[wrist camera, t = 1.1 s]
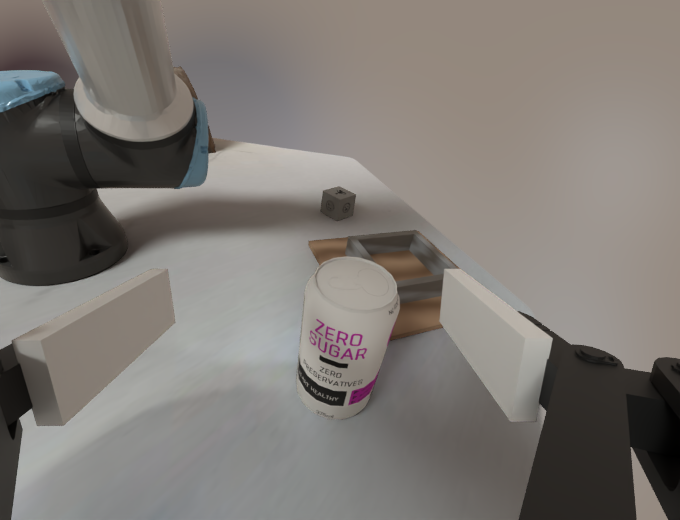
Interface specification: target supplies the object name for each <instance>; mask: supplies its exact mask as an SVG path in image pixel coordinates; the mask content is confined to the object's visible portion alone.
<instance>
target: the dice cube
mask: <svg viewBox="0 0 680 520" xmlns="http://www.w3.org/2000/svg"><path fill="white" fill-rule="evenodd" d="M355 197H356V194H354V193H352V192H350V191H348V190H345V189H343V188H341V187H335V188H331V189H328V190H324V191H323V195H322V204H321V212H322V213H323V214H325V215H327V216H329V217H330V218H332V219H334V220H336V221H339V220H342V219H344V218H347V217H349V216H352V215H353V209H354V203H355Z"/></svg>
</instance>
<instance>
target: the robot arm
mask: <svg viewBox="0 0 680 520" xmlns="http://www.w3.org/2000/svg"><path fill="white" fill-rule="evenodd" d="M42 2H43V4H44V6H45V8H46V10H47V12H48V14H49V16H50V18H51V20H52V22H53V24H54V26H55V28H56V30H57V32H58V34H59V36H60V38H61V40H62V42H63V44H64V46H65V48H66V50H67V52H68V54H69V56H70V58H71V60H72V63H73V65H74V67H75V69H76V71H77V73H78V75H79V78H78V80H77V82H76V85H75V87H74V89H67V88H65V82H64V81H63V80H62V79H61V77H60V76H59V75H58V74H56V73H54V72H45V71H34V70H32V71H31V70H21V71H19V70H18V71H0V277H1V278H3V279H5V280H7V281H9V282H12V283H16V284H22V285H51V284H59V283H65V282H70V281H74V280H78V279H81V278H85V277H87V276H90V275H93V274H95V273H98V272H100V271H102V270H104V269H106V268H108V267H110V266H111V265H113V264H114V263H116V262H117V261H118V260H119V259H120V258H121V257H122V256H123V255H124V254H125V252H126V250H127V247H128V243H127V239H126V236H125V232H124V230H123V228H122V226H121V225H120V224H119V223H118V221H117V220H116V219H115V217H114V216H113V215H112V214H111V212H110V211H109V210H108V209H107V207H106V206H105V205H104V203H103V202H102V201H101V200H100V198H99V195H98V192H97V189H96V188H174V189H180V188H182V187H196V186H200V185H201V184H203V183H204V181H205V180H206V177H207V171H208V141H209V137H208V120H207V111H206V107H205V105H204V103H203V102H202V101H200V100H197V99H195V98H193V97H192V96H191V93H190V91H189V88H188V87H187V86H186V84H185V83H184V82H183V81H182V80H181V79H180V78H179V77H178V76H177V75H176V74H174V70H173V65H172V59H171V53H170V48H169V43H168V37H167V32H166V26H165V21H164V15H163V10H162V5H161V0H42ZM439 322H440V323H441V324H442V326H443V327H444V329H445V330H446V332H447V333H448V334H449V336H450V337H451V339H452V340H453V341H454V343H455V344H456V346H457V347H458V348H459V350H460V351H461V353H462V354H463V355H464V357H465V358H466V360H467V361H468V363H469V364H470V365H471V367H472V368H473V370H474V371H475V372H476V374H477V375H478V377H479V378H480V379H481V381H482V382H483V384H484V385H485V386H486V388H487V389H488V391H489V392H490V394H491V395H492V396H493V398H494V399H495V401H496V402H497V403H498V405H499V406H500V408H501V409H502V410H503V412H504V413H505V415H506V416H507V417H508V419H509V420H510V422H536V420H537V415H538V410H539V405H540V404H541V406H542V407H543V408H544V409H545V410H546V411H547V412H546V416H545V420H544V424H543V428H542V431H541V435H540V439H539V443H538V447H537V451H536V455H535V458H534V462H533V466H532V470H531V474H530V478H529V482H528V486H527V489H526V493H525V497H524V501H523V505H522V509H521V513H520V516H519V520H636V508H635V496H634V484H633V472H632V460H631V449H630V447H632V448H633V450H634V452H635V454H636V456H637V458H638V460H639V462H640V464H641V466H642V468H643V470H644V472H645V474H646V476H647V478H648V480H649V482H650V484H651V486H652V488H653V490H654V492H655V494H656V496H657V498H658V500H659V502H660V504H661V506H662V508H663V510H664V512H665V514H666V516H667V518H668V520H680V359H676V358H668V357H665V358H658V359H657V360H655V362H654V365H653V368H652V372H651V373H650V372H643V371H636V370H631V369H625V368H624V366H623V364H622V362H621V361H620V360H619V359H617V358H616V357H615V356H613V355H611V354H609V353H607V352H605V351H602V350H599V349H596V348H593V347H589V346H584V345H570V344H569V343H568V342H566V341H565V340H564V339H562V338H560V337H559V336H558V335H556V334H555V333H554V332H552V331H550V329H548V328H547V327H545V326H544V325H542V324H541V323H540V322H538V321H537V320H536V319H534V318H533V317H531V316H529V315H527V314H524V313H522V312H520V311H516V310H514V309H513V308H512V307H510V306H509V305H508V304H506V303H505V302H504V301H502V300H501V299H500V298H498V297H497V296H496V295H494V294H493V293H492V292H490V291H489V290H488V289H486V288H485V287H484V286H483V285H481V284H480V283H479V282H477V281H476V280H475V279H473V278H472V277H471V276H469V275H468V274H467V273H465V272H464V271H463V270H461V269H444V277H443V288H442V299H441V309H440V320H439ZM174 323H175V316H174V309H173V302H172V295H171V288H170V281H169V275H168V269H150V270H148V271H146V272H145V273H143V274H141V275H139V276H137V277H135V278H133V279H131V280H129V281H127V282H125V283H123V284H121V285H119V286H117V287H115V288H113V289H111V290H109V291H107V292H105V293H104V294H102V295H100V296H98V297H96V298H94V299H92V300H90V301H88V302H86V303H84V304H82V305H80V306H78V307H76V308H74V309H72V310H70V311H68V312H66V313H64V314H63V315H61V316H59V317H57V318H55V319H53V320H51V321H49V322H47V323H45V324H43V325H41V326H39V327H37V328H35V329H33V330H31V331H29V332H27V333H25V334H23V335H22V336H20V337H18V338H16V339H14V340H12V344H10V345H8V346H7V347H5V348H3V349H1V350H0V520H11V515H12V507H13V500H14V492H15V484H16V476H17V469H18V461H19V453H20V445H21V438H22V430H23V429H22V426H21V423H20V420H19V418H20V417H21V416H22V415H23V414H25V413H26V412H27V411H29V410H30V409H31V408H32V411H33V414H34V417H35V421H36V424H37V426H64V425H65V424H66V423H67V422H68V421H69V420H70V419H71V418H72V417H74V416H75V415H76V414H77V413H78V412H79V411H80V410H81V409H82V408H83V407H84V406H85V405H87V404H88V403H89V402H90V401H91V400H92V399H93V398H94V397H95V396H96V395H97V394H98V393H100V392H101V391H102V390H103V389H104V388H105V387H106V386H107V385H108V384H109V383H110V382H111V381H113V380H114V379H115V378H116V377H117V376H118V375H119V374H120V373H121V372H122V371H123V370H124V369H126V368H127V367H128V366H129V365H130V364H131V363H132V362H133V361H134V360H135V359H136V358H137V357H138V356H140V355H141V354H142V353H143V352H144V351H145V350H146V349H147V348H148V347H149V346H150V345H151V344H153V343H154V342H155V341H156V340H157V339H158V338H159V337H160V336H161V335H162V334H163V333H164V332H166V331H167V330H168V329H169V328H170V327H171V326H172V325H173V324H174Z"/></svg>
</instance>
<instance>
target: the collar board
mask: <svg viewBox="0 0 680 520" xmlns="http://www.w3.org/2000/svg"><path fill="white" fill-rule="evenodd" d="M309 247H310V249H311V250H312V252H313V254H314V256H315V258H316V259H317V261H318V263H319V265H321V264H322V263H323V262H325V261H327V260H330V259H332V258H337V257H345V256H348V257H358V258H363V259H366V260H369V261H373V262H374V263H376V264H378V265H380V266H382V267H384V268H385V269H386V270H387V271H388V272H389V273H390V274H391V275H392V276H393V278H394V280H395V282H396V284H397V292H398V295H399V298H400V310H399V313H398V316H397V319H396V322H395V325H394V328H393V331H392V334H391V337H390V340H394V339H398V338H402V337H407V336H411V335H415V334H419V333H423V332H427V331H431V330H435V329H439V328H443V326H442V324H441V323H440V322H439V320H440V309H441V299H442V288H443V277H444V269H460V268H459V267H457V266H456V265H455V264H454V263H453V262H452V261H451V260H450V259H449V258H447V257H446V256H445V255H444V254H443V253H442V252H441V251H440V250H439V249H437V248H436V247H435V246H434V245H433V244H432V243H431V242H430V241H429V240H428V239H426V238H425V237H424V236H423V235H422V234H421V233H420V232H419V231H416V230H413V231H402V232H391V233H381V234H370V235H359V236H348V237H346V238H336V239H325V240H314V241H309ZM390 340H389V341H390Z"/></svg>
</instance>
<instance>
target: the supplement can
mask: <svg viewBox="0 0 680 520" xmlns="http://www.w3.org/2000/svg"><path fill="white" fill-rule="evenodd" d="M399 310H400V298H399V295H398V292H397V284H396V282H395V280H394V278H393V276H392V275H391V274H390V273H389V272H388V271H387V270H386V269H385V268H384V267H382V266H380V265H378V264H376V263H374V262H373V261H369V260H366V259H363V258H358V257H348V256H345V257H337V258H332V259H330V260H327V261H325V262H323V263H322V264H321V265H320V266H319V267H318V268H317V269H316V272H315V273H314V275H313V276H312V277H311V278H310V279H309V280H308V283H307V286H306V288H305V293H304V304H303V314H302V325H301V335H300V345H299V356H298V366H297V377H296V384H297V393H298V394H299V396H300V398H301V400H302V402H303V404H304V405H305V406H306V407H307V408H309V409H310V410H311V411H312V412H313V413H314V414H317V415H319V416H322V417H324V418H327V419H341V420H342V419H345V418H348V417H351V416H355V415H356V414H357V413H359V412H360V411H361V410H362V409H363V408H365V406H366V404H367V402H368V400H369V398H370V396H371V394H372V391H373V388H374V385H375V382H376V379H377V376H378V373H379V370H380V367H381V364H382V361H383V358H384V355H385V352H386V349H387V346H388V343H389V340H390V337H391V334H392V331H393V328H394V325H395V322H396V319H397V316H398V313H399Z"/></svg>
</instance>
